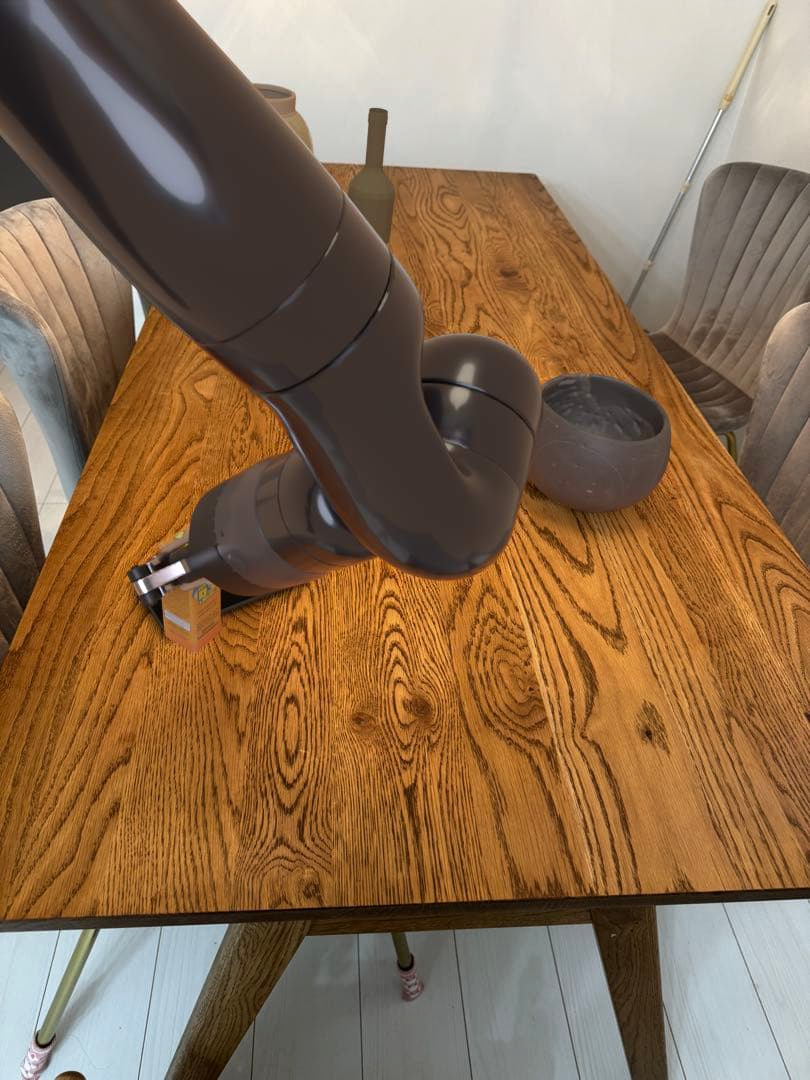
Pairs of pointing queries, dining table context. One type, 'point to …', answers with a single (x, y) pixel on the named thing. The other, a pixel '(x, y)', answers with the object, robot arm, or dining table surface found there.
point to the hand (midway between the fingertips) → (175, 566)
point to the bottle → (375, 179)
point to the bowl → (599, 443)
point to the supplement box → (191, 610)
